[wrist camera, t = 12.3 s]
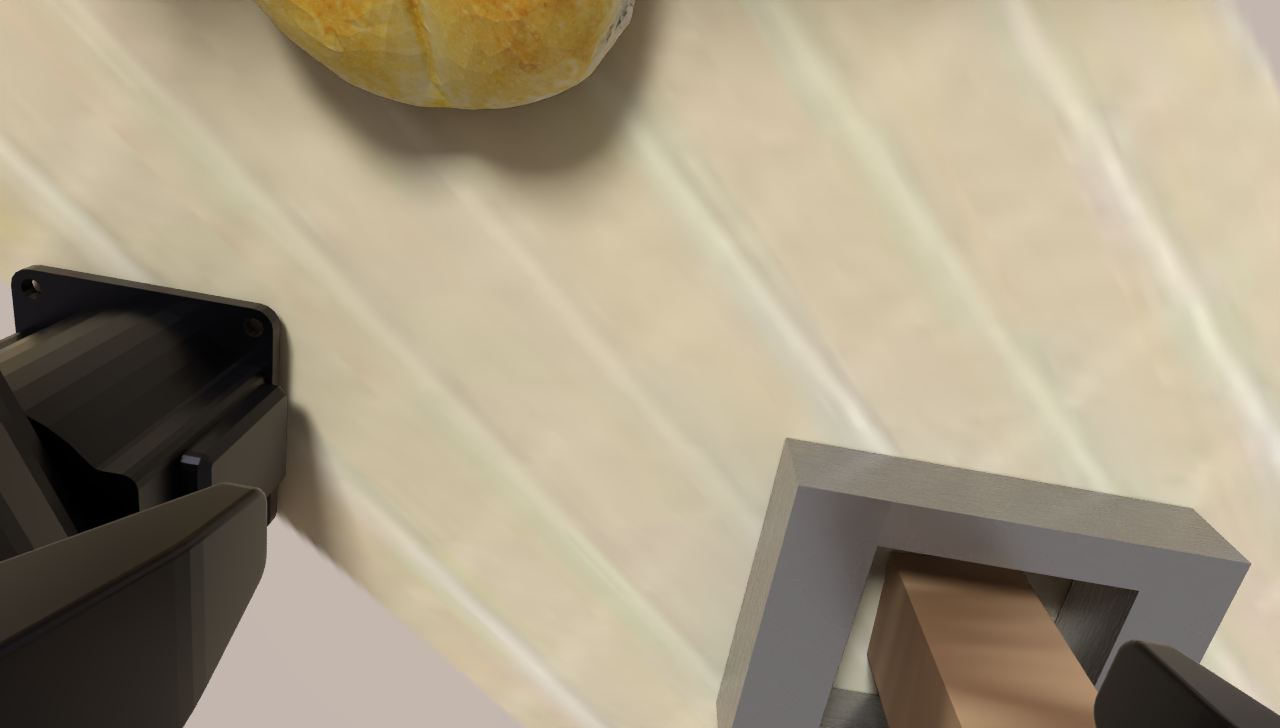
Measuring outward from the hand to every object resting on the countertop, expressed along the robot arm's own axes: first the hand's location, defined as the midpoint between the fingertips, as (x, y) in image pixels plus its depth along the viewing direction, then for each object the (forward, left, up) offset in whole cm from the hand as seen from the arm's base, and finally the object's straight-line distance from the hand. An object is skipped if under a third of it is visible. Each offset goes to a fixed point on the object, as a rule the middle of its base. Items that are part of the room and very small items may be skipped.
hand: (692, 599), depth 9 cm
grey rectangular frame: (+9, -9, -13) cm, 18 cm away
